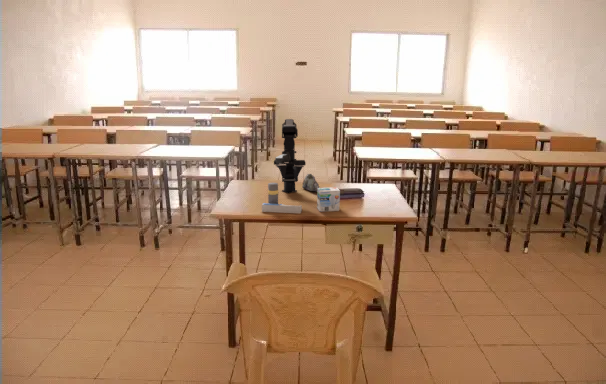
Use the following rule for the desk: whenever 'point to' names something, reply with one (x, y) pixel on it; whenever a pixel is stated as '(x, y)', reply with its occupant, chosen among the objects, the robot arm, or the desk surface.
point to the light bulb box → (328, 199)
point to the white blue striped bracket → (281, 208)
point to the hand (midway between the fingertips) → (289, 178)
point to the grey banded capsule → (273, 193)
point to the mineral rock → (310, 183)
